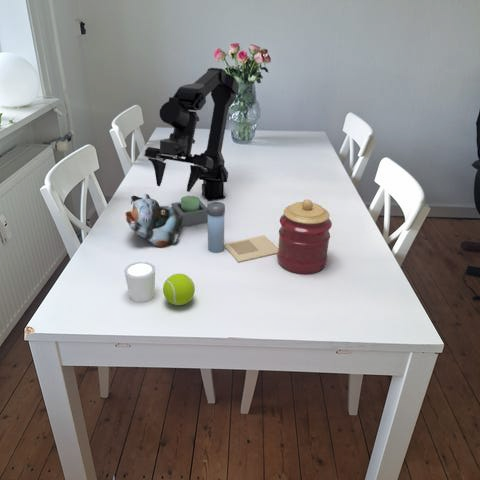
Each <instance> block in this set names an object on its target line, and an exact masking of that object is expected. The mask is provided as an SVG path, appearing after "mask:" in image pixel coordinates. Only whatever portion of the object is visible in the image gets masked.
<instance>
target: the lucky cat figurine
mask: <svg viewBox="0 0 480 480" xmlns="http://www.w3.org/2000/svg"><path fill="white" fill-rule="evenodd" d="M130 201H131V202H130V207H129V208H128V211H126V212H125V213H124V215H125V216H126V217H125V221H126V222H127V224H128V227H129V229H130V230H131V231H132V232H134V234H135V235H138V236H140V237H141V238H144V239H145V240H147V241H148V242H150V243H151V244H152V245H154V246H155V247H158V248H164V247H169V246H171V245H173V244H175V243H177V242H178V241H177V240H178V239H179V235H180V233H179V231H180V228H181V223H182V221H183V217H182V216H181V215H179V214H178V213H177V211H176V210H175V209H174V208H172V206H168V205H167V206H166V205H164V206H163V205H162V206H161V205H160V204H159V202H158V201H157V200H156V199H154V198H152V197H151V196H150V195H149V194H148V193H144V194H143V196H142V197H139V196H138V195H132V196H131V200H130Z"/></svg>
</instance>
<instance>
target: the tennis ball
mask: <svg viewBox="0 0 480 480" xmlns="http://www.w3.org/2000/svg"><path fill="white" fill-rule="evenodd" d="M195 289H196V287H195V283H194V281H193V279H192V278H190V277H189V275H187V274H185V273H175V274H174V273H173V274H172V275H171V276H168V277H167V278H166V280H164V282H163V286H162V293H163V296H164V298H165V300H166V301H167V302H168V303H170V304H172V305H175V306H183V305H187V304H188V303H189V302H190V301H191V300H192V299H193V298H194V295H195V291H196V290H195Z"/></svg>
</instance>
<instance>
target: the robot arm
mask: <svg viewBox="0 0 480 480" xmlns="http://www.w3.org/2000/svg"><path fill="white" fill-rule="evenodd" d="M239 87H240V85H239V83H238V80H237V79H236V78H235V76H233V75H231V74H229V73H228V72H226V70H225V69H223V68H219V67H209V68H207V71H206V72H205V73H204V74H203V75H202V76H200V77H199V78H197V80H196V81H194V82H192V83H189V84H185V85H181V86H179V88H177V90H176V92H175V93H174V95H173V96H172V97H168V101H167V102H165V103H163V104H162V106H161V107H160V109H159V117H160V120H161V121H162V122H163V123H165V124H167V125H168V126H170V127H172V128H173V132H170V134H169V138H165V139H161V140H159V148H158V147H152V146H148V147H146V149H145V151H144V153H143V154H144V157H145V158H147V160H148V161H149V162H151V163H152V166H153V168H154V175H155V180H156V187H161V184H162V182H163V178H164V174H165V172H166V171H165V169H166V167H167V163H166V162H165V161H166V160H169V161H175V162H180V163H186V164H190V165H189V167H190V173H189V177H188V182H187V186H186V192H187V193H190V192H191V191H192V189H193V187H194V186H195V184H196V182H197V181H198V180H199V181H203V182H202V183H201V195H202V196H203V198H205V200H206V201H208V202H210V201H211V202H213V201H217V200H222V199H226V195H225V193H224V189H225V187H224V186H225V183H228V179H229V172H228V170H227V168H226V166H225V158H224V156H223V153H222V151H223V150H222V149H223V144H224V138H225V133H226V127H227V121H228V114H229V109H230V107H231V106H232V105H233V104H234V102H235V101H236V98H237V94H238V93H239V89H240V88H239ZM209 94H210V96H211V99H212V102H213V111H212V116H211V122H210V128H209V134H208V141H207V146H206V150H204V152H201V153H200V154H196V153H195V154H192V148H193V145H195V144H196V143H195V142H196V139H194V137H195V134H196V133H195V132H196V128H197V127H196V126H197V124H198V123H199V121H200V117H199V116H198V114H197V111H200V110H202V109H203V107H204V106H205V105H206V103H207V99H206V98H207V96H208V95H209ZM197 122H198V123H197Z"/></svg>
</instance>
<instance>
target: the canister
mask: <svg viewBox="0 0 480 480" xmlns="http://www.w3.org/2000/svg"><path fill="white" fill-rule="evenodd" d="M279 223H280V225H281V226H280V228H279V230H278V235H279V236H278V246H277V247H278V251H277V254H276V255H277V262H278V264H279V265H280V267H282V268H283V269H285V270H286V271H289V272H291V273H296V274H304V275H310V274H316V273H318V272H320V271H322V270H323V269H324V268H325V266H326V264H327V261H328V252H329V250H328V249H329V243H330V239H331V233H330V229H331V228H332V224H333V223H332V220H331V219H330V212H329V211H328V210H327V209H326V208H324V207H323V206H322V205H320V204H319V203H316V202H313V201H312V200H311V199H308V198H307V199H304V200H303V201H299V202H293V203H292V204H290V205H288V206H286V207H285V208H284V209H283V214H282V215H280V218H279Z"/></svg>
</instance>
